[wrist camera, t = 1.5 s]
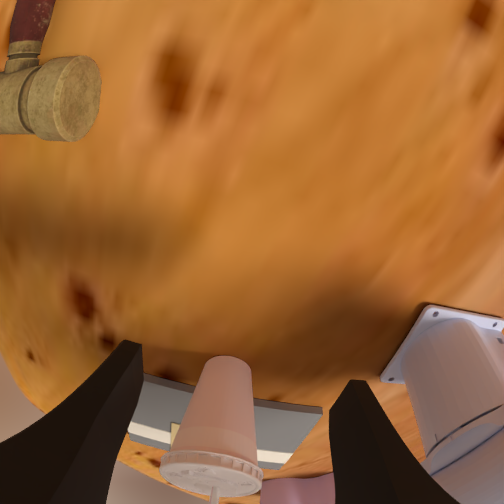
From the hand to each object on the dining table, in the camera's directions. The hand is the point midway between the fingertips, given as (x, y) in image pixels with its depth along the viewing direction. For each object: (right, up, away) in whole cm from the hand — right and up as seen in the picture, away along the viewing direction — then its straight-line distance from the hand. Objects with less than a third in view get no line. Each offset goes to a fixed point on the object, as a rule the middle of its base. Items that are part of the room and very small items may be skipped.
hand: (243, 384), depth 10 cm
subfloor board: (-4, -13, +18) cm, 23 cm away
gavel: (-11, +21, +1) cm, 24 cm away
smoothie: (-2, -5, +14) cm, 15 cm away
